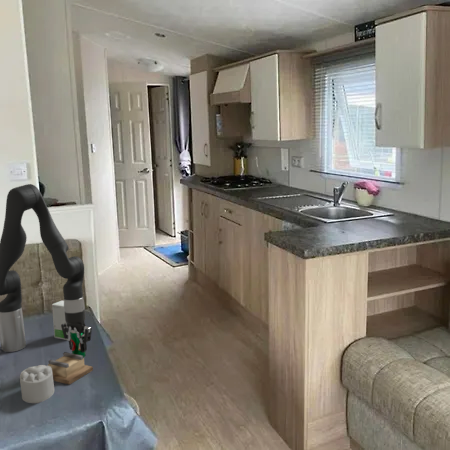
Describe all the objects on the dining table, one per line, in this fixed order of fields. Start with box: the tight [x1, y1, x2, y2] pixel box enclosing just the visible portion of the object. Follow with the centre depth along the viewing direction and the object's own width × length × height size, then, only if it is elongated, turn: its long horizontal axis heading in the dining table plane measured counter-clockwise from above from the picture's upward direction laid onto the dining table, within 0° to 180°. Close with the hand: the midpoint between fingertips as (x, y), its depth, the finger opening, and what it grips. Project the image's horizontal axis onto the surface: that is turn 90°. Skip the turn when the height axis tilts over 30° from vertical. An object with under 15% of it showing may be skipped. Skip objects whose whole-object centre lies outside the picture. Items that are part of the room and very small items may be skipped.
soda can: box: [70, 329, 87, 359], centre depth 193 cm, size 5×5×12 cm
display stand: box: [47, 351, 94, 386], centre depth 184 cm, size 14×12×6 cm
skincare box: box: [51, 300, 68, 341], centre depth 220 cm, size 8×7×16 cm
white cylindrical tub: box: [19, 364, 55, 404], centre depth 170 cm, size 10×13×9 cm
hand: (78, 350), depth 194 cm, fingers closed on soda can, 5 cm apart
